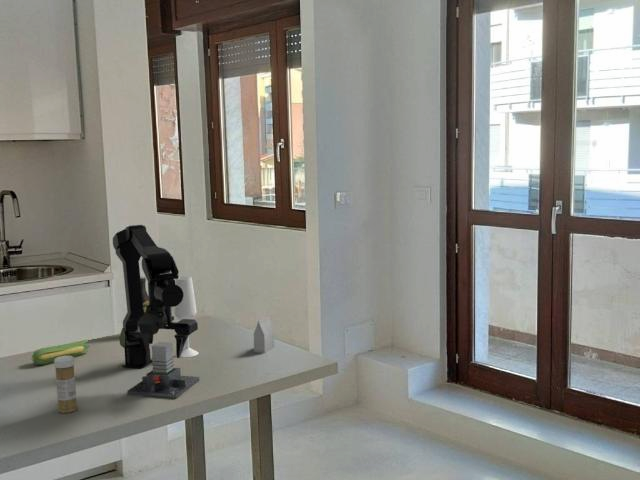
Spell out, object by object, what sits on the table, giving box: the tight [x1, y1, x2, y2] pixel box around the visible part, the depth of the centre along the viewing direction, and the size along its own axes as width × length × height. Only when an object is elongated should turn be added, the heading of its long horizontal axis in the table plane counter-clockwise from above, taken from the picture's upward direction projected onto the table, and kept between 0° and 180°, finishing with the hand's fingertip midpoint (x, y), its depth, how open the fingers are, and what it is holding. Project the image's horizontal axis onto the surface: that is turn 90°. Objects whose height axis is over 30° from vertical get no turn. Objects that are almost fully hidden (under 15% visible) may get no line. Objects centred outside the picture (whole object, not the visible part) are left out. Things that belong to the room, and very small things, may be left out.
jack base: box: [126, 367, 200, 399], centre depth 191 cm, size 14×14×4 cm
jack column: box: [151, 341, 175, 375], centre depth 190 cm, size 4×4×8 cm
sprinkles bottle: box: [53, 356, 78, 414], centre depth 175 cm, size 5×5×14 cm
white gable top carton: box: [253, 316, 275, 354], centre depth 223 cm, size 4×7×10 cm, turn 158°
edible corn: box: [31, 339, 91, 366], centre depth 218 cm, size 5×20×5 cm
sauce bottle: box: [140, 276, 149, 313], centre depth 242 cm, size 6×6×20 cm
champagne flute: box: [174, 275, 199, 358], centre depth 219 cm, size 7×7×24 cm
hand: (162, 356), depth 190 cm, fingers open, 9 cm apart
